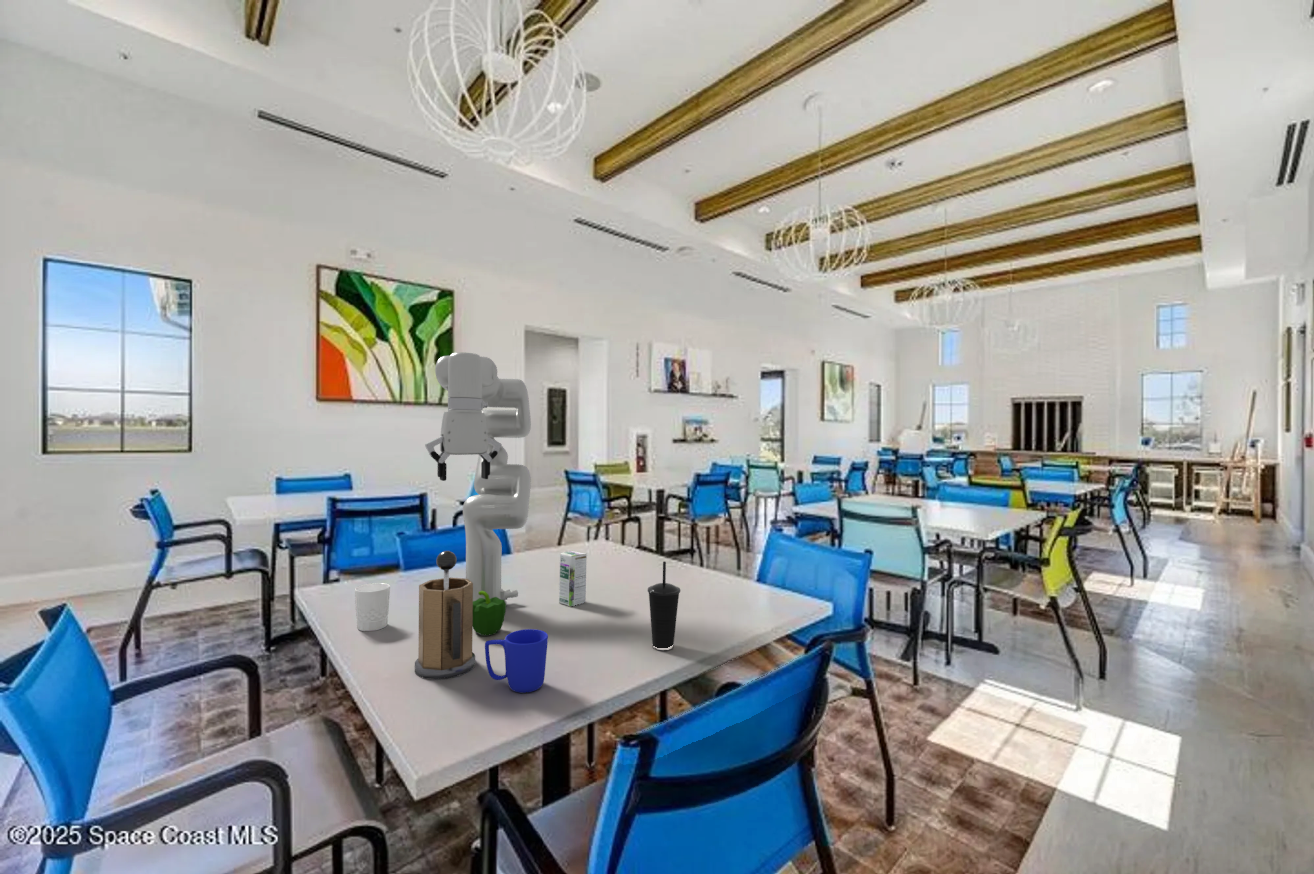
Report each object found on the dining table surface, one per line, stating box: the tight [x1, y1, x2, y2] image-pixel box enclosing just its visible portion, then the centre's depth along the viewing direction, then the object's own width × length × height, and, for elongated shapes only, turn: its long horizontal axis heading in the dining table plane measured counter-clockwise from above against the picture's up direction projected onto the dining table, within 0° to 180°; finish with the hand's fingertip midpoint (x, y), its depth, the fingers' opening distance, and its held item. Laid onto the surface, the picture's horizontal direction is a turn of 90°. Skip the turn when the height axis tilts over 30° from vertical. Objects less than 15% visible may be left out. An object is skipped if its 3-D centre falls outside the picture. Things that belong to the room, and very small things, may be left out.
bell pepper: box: [473, 591, 507, 636], centre depth 141 cm, size 8×8×10 cm
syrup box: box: [558, 550, 588, 607], centre depth 165 cm, size 6×6×14 cm
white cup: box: [354, 582, 391, 632], centre depth 143 cm, size 8×8×10 cm
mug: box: [484, 628, 549, 694], centre depth 111 cm, size 8×12×10 cm
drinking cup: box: [647, 561, 681, 648], centre depth 133 cm, size 8×8×20 cm
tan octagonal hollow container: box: [414, 576, 476, 680], centre depth 119 cm, size 12×14×18 cm
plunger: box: [436, 550, 458, 590], centre depth 120 cm, size 8×8×19 cm
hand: (464, 479), depth 134 cm, fingers open, 9 cm apart
